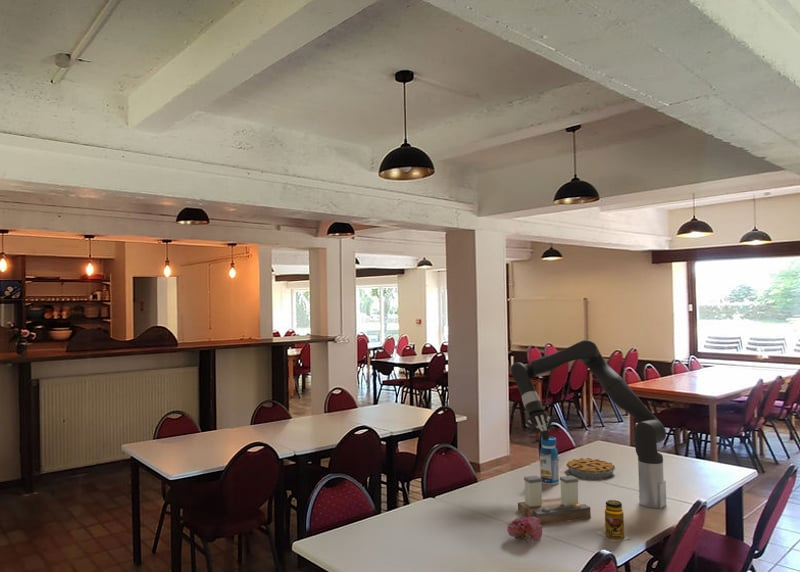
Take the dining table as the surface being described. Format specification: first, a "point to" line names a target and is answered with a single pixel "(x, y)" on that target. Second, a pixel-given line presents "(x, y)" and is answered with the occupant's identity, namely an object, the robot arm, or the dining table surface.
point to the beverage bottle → (549, 462)
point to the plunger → (533, 491)
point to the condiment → (614, 521)
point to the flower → (526, 528)
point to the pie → (590, 468)
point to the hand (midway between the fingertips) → (546, 440)
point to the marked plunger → (569, 490)
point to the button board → (555, 511)
